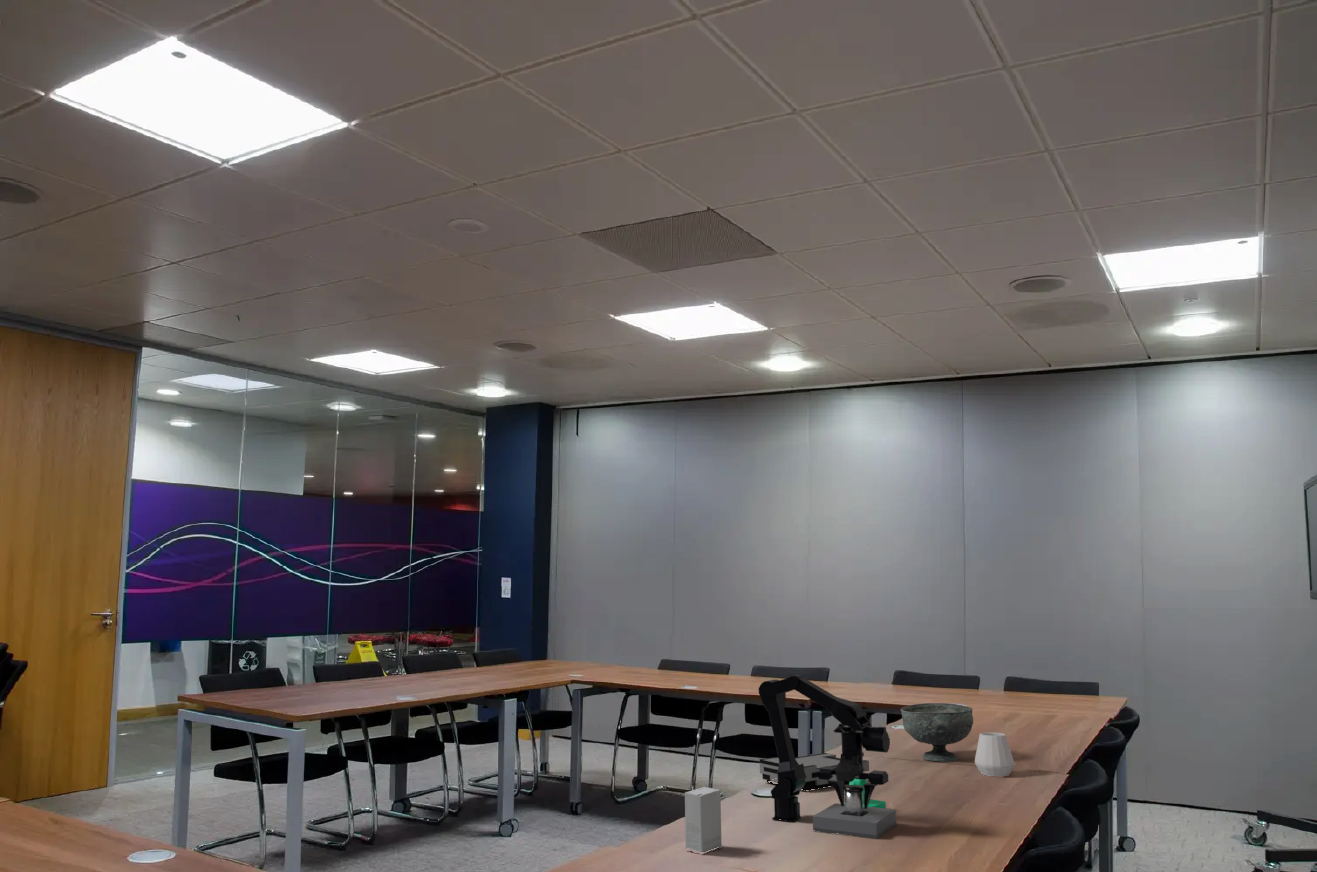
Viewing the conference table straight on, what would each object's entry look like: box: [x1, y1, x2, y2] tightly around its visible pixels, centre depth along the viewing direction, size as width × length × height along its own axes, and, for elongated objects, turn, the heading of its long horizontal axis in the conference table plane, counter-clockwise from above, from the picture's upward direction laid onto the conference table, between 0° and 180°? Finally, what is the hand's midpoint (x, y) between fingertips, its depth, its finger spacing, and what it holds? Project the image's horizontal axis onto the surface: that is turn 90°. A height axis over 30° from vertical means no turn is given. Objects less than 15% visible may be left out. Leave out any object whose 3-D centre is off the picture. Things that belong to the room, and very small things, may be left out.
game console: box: [759, 752, 870, 790], centre depth 338 cm, size 21×32×8 cm, turn 126°
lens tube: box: [843, 784, 864, 817], centre depth 274 cm, size 6×6×10 cm
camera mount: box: [844, 779, 887, 809], centre depth 293 cm, size 12×8×10 cm, turn 138°
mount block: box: [812, 803, 897, 840], centre depth 273 cm, size 18×18×4 cm
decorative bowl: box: [900, 702, 974, 763], centre depth 379 cm, size 26×26×20 cm
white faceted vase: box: [974, 731, 1015, 777], centre depth 347 cm, size 13×13×14 cm
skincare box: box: [684, 786, 723, 852], centre depth 253 cm, size 8×6×15 cm
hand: (854, 807), depth 274 cm, fingers open, 6 cm apart
